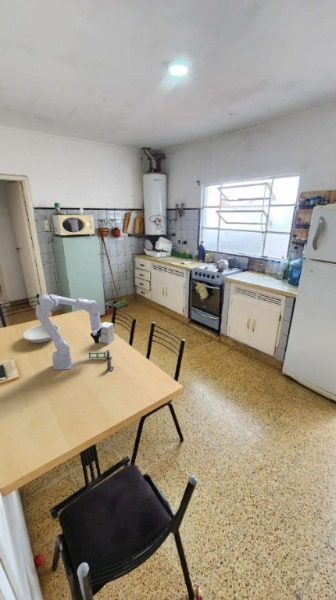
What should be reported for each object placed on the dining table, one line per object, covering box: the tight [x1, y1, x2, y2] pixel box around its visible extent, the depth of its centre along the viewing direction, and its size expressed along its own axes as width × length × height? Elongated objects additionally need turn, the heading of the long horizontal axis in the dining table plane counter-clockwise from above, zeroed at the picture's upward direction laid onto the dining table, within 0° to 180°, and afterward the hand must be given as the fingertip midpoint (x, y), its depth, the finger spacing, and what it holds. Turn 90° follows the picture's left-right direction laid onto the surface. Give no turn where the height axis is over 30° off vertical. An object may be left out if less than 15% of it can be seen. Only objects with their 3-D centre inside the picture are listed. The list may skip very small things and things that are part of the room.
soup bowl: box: [21, 323, 61, 344], centre depth 175 cm, size 24×24×7 cm
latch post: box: [106, 359, 114, 372], centre depth 142 cm, size 3×4×6 cm
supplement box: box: [99, 321, 116, 345], centre depth 171 cm, size 7×7×13 cm
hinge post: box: [104, 349, 113, 362], centre depth 152 cm, size 4×4×6 cm
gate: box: [88, 350, 107, 360], centre depth 152 cm, size 10×1×4 cm, turn 91°
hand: (98, 339), depth 154 cm, fingers open, 7 cm apart
